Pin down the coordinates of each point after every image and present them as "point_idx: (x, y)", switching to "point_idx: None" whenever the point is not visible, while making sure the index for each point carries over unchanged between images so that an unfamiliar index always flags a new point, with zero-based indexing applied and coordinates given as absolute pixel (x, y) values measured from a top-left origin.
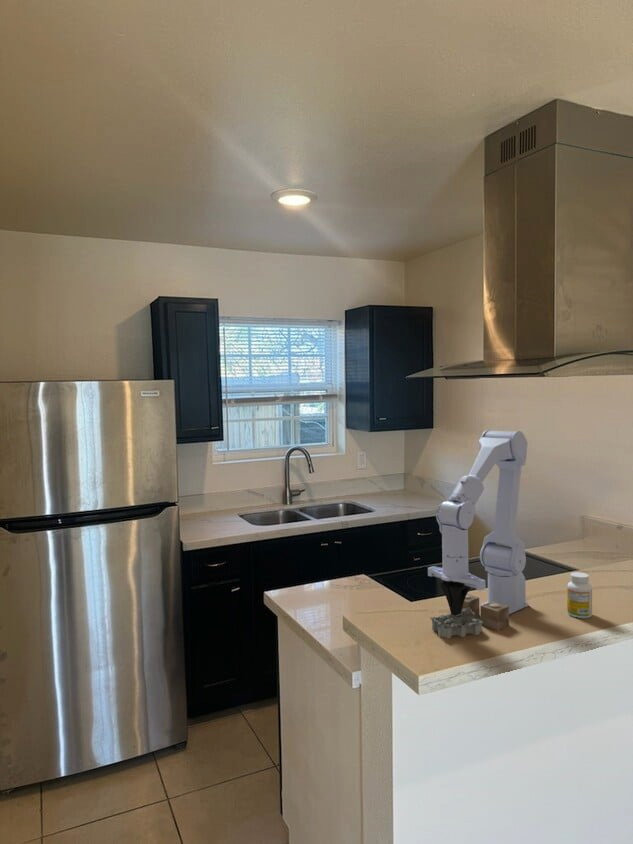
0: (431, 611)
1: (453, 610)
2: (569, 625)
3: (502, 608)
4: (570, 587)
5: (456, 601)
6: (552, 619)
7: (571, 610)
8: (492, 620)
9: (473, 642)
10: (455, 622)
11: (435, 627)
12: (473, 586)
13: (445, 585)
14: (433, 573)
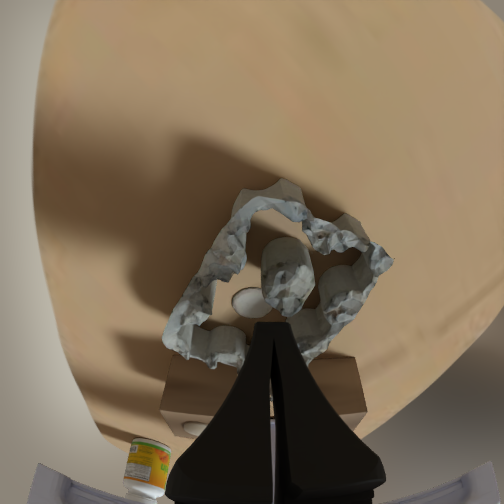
0: (424, 334)
1: (265, 339)
2: (121, 419)
3: (170, 425)
4: (144, 486)
5: (229, 393)
6: (157, 427)
7: (149, 449)
8: (186, 379)
9: (140, 237)
10: (301, 319)
11: (342, 226)
12: (100, 498)
13: (322, 490)
14: (460, 492)
